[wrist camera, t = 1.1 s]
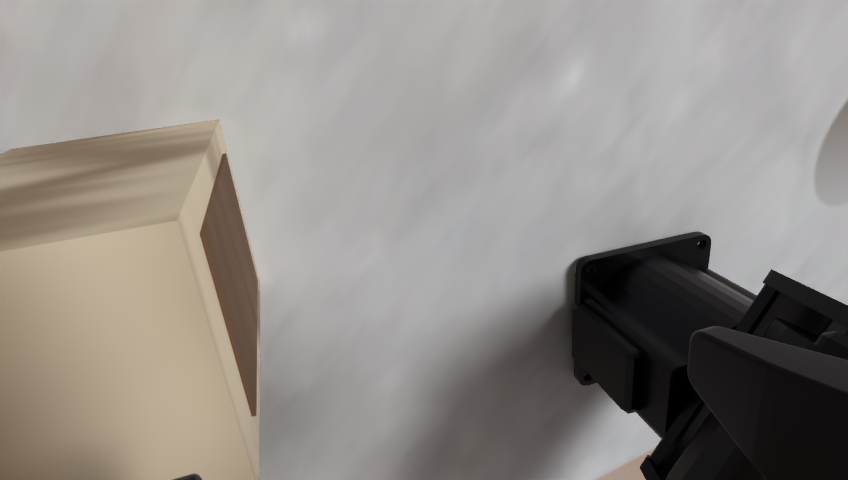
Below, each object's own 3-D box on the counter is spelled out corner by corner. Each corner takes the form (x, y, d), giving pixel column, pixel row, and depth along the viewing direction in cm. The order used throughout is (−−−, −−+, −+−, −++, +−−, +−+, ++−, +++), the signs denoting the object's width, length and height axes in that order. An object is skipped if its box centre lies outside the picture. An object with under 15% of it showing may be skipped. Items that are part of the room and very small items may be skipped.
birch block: (222, 118, 18) (183, 219, 9) (262, 282, 20) (264, 494, 11) (11, 149, 16) (-293, 303, 7) (81, 320, 19) (-84, 594, 10)
